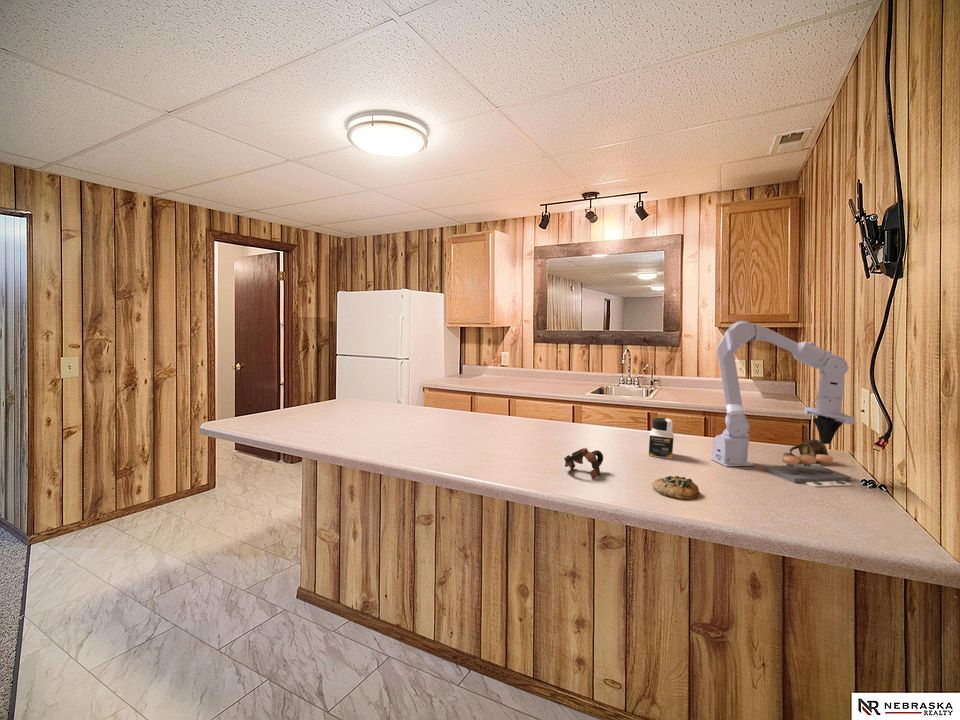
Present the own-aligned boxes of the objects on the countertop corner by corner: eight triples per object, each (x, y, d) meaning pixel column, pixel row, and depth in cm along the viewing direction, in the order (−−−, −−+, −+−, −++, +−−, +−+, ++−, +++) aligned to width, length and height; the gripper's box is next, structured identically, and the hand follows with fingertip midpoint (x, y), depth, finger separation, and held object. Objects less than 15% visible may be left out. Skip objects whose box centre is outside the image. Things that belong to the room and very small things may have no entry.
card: (814, 487, 129) (814, 485, 128) (805, 483, 131) (805, 481, 131) (852, 485, 130) (852, 483, 130) (842, 481, 133) (842, 480, 133)
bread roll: (694, 486, 126) (695, 468, 125) (703, 508, 116) (704, 489, 115) (649, 483, 129) (650, 466, 128) (654, 504, 118) (655, 485, 117)
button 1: (789, 468, 135) (790, 459, 135) (778, 464, 139) (779, 455, 139) (802, 468, 136) (803, 459, 135) (790, 463, 139) (791, 455, 139)
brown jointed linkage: (588, 484, 128) (574, 455, 129) (567, 488, 135) (554, 462, 137) (617, 466, 134) (603, 439, 135) (595, 471, 142) (583, 446, 143)
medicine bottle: (648, 456, 154) (650, 419, 153) (649, 450, 160) (651, 415, 159) (672, 459, 151) (674, 422, 150) (672, 453, 158) (674, 417, 156)
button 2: (823, 467, 137) (824, 458, 136) (811, 463, 141) (812, 454, 140) (835, 467, 137) (836, 458, 137) (823, 462, 141) (824, 454, 141)
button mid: (806, 467, 136) (807, 459, 136) (795, 463, 140) (796, 454, 139) (819, 467, 136) (819, 458, 136) (807, 463, 140) (808, 454, 140)
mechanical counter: (839, 451, 146) (822, 436, 155) (794, 444, 148) (780, 430, 157) (831, 471, 148) (816, 455, 158) (787, 464, 150) (774, 449, 159)
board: (794, 482, 131) (794, 477, 131) (764, 470, 142) (764, 465, 142) (850, 480, 134) (850, 475, 134) (816, 468, 145) (817, 463, 145)
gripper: (866, 401, 131) (861, 449, 132) (820, 392, 145) (816, 436, 146) (843, 401, 130) (839, 450, 131) (800, 392, 144) (796, 437, 145)
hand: (825, 443), depth 138 cm, fingers closed
